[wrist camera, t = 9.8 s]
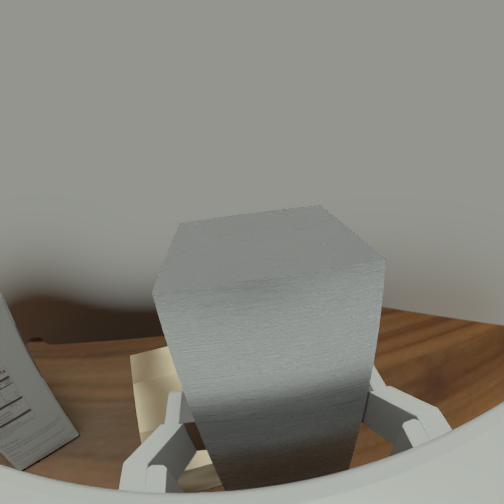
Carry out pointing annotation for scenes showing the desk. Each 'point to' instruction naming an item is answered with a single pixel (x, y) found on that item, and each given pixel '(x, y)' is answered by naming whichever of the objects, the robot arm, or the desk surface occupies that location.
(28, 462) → the supplement box
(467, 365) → the desk surface
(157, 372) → the square nut
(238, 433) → the steel peg
